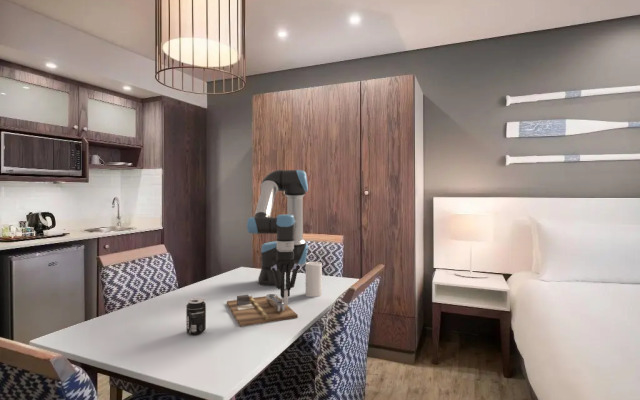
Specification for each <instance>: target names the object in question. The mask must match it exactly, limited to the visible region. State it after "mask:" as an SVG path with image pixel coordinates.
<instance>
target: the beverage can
mask: <svg viewBox="0 0 640 400" xmlns="http://www.w3.org/2000/svg"><path fill="white" fill-rule="evenodd" d="M185 307H186V310H185V313H186V314H185V317H186V318H185V319H186V320H185V322H186V330H185V331H186V333H187V334H188V335H191V336H198V335H201V334H203V333H205V332H206V329H207V327H206V326H207V315H206V314H207V310H206V309H207V305H206V302H205V299H204V298H201V297H198V298H191V299H189V300H188V302H187V304H186V306H185Z"/></svg>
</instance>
